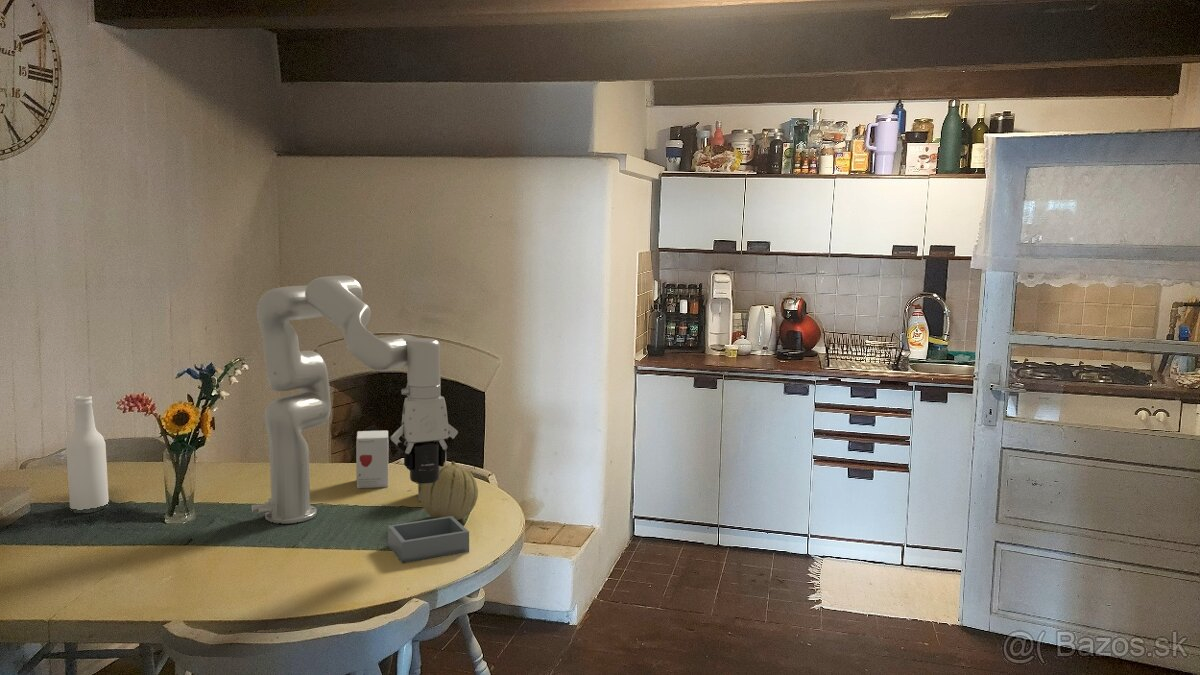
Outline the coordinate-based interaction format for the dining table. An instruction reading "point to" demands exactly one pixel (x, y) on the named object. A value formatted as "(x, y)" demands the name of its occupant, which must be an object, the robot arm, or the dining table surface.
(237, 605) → the dining table surface
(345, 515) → the dining table surface
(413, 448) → the supplement bottle
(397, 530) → the tote
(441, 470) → the cantaloupe
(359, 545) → the dining table surface
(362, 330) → the robot arm
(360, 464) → the supplement box
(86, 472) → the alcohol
